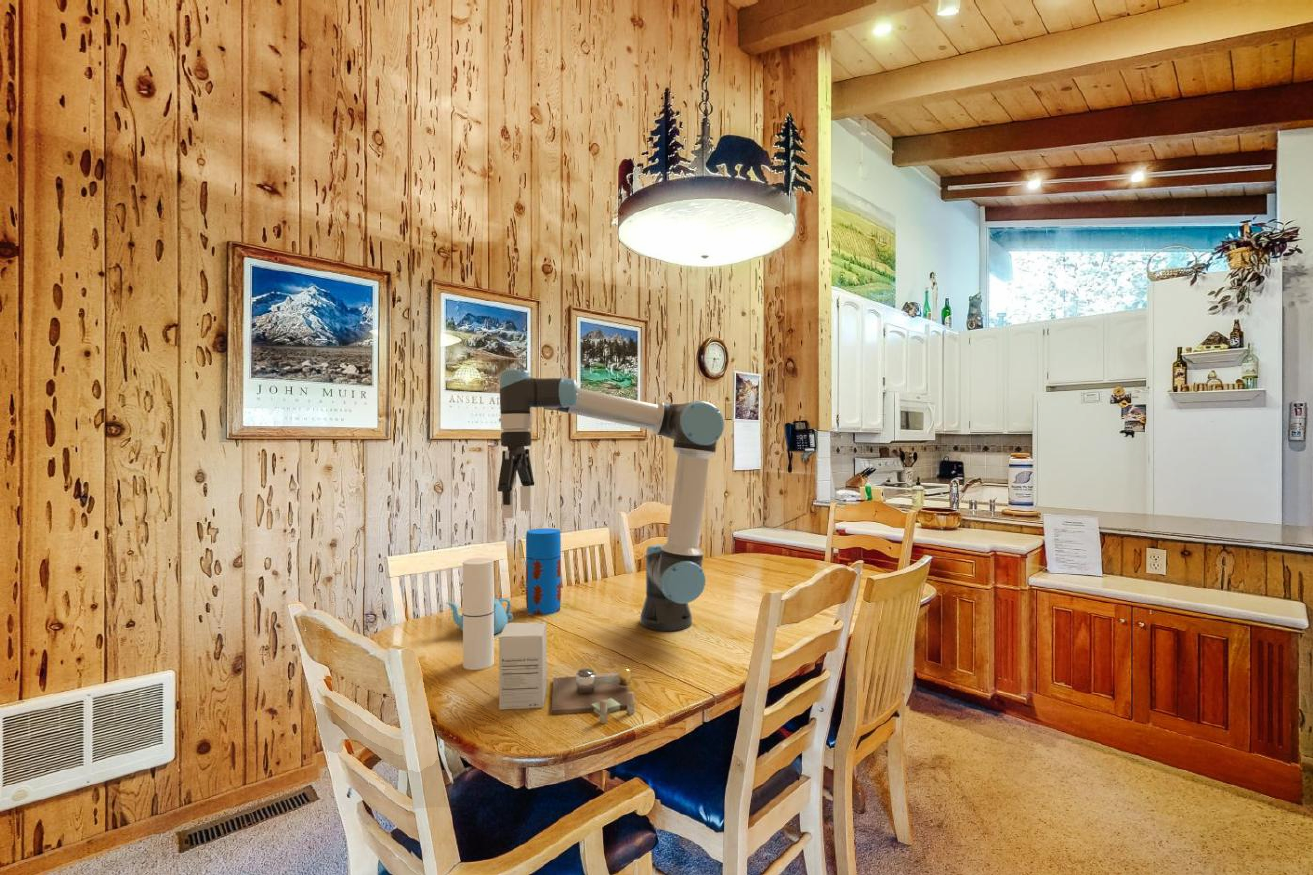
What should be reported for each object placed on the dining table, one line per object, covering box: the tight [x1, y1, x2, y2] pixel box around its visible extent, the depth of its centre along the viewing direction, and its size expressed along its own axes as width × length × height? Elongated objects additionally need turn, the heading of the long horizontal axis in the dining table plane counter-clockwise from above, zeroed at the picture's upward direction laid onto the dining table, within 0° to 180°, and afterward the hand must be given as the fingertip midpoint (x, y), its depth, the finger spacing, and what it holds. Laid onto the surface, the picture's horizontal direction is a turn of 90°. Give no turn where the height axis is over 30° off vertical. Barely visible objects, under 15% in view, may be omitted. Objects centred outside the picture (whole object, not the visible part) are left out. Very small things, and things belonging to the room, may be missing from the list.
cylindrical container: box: [462, 557, 495, 671], centre depth 145 cm, size 7×7×25 cm
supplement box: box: [498, 621, 548, 710], centre depth 125 cm, size 9×9×15 cm
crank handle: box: [575, 666, 632, 693], centre depth 128 cm, size 12×4×4 cm, turn 99°
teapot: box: [445, 597, 514, 635], centre depth 169 cm, size 15×15×10 cm
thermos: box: [525, 527, 562, 616], centre depth 189 cm, size 11×11×25 cm
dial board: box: [551, 676, 635, 725], centre depth 125 cm, size 16×21×4 cm
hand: (517, 514), depth 153 cm, fingers open, 13 cm apart
